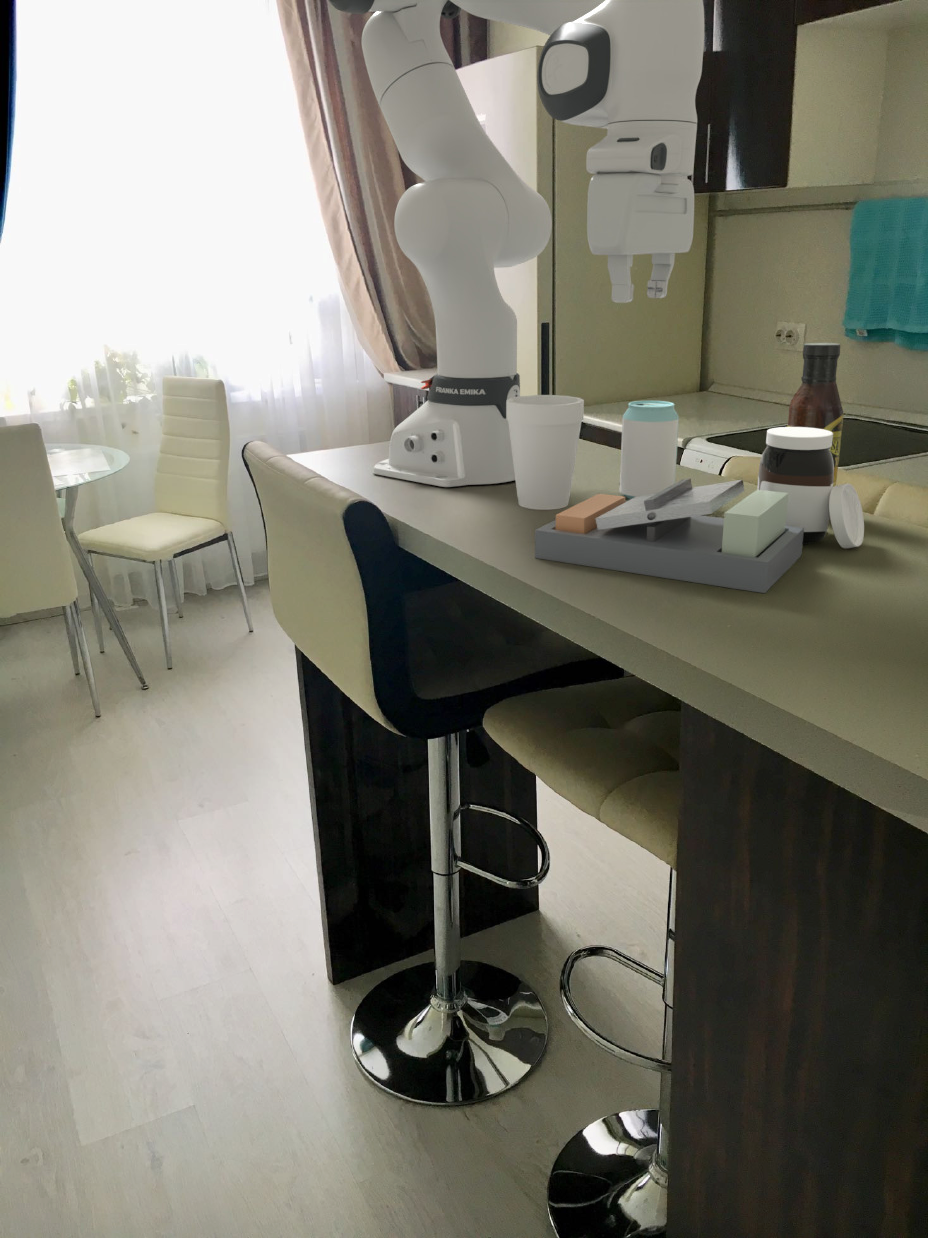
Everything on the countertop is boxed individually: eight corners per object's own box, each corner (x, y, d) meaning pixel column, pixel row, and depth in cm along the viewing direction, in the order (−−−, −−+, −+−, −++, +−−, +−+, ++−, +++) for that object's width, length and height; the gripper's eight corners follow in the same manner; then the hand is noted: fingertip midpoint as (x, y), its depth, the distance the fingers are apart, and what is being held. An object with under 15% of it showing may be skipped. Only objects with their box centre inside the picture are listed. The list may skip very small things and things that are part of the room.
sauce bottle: (836, 520, 119) (856, 346, 112) (781, 517, 120) (798, 345, 113) (828, 506, 125) (847, 341, 118) (776, 505, 126) (792, 340, 119)
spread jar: (749, 523, 118) (758, 423, 114) (850, 527, 116) (863, 425, 112) (759, 552, 107) (769, 442, 103) (871, 556, 105) (886, 444, 101)
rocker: (596, 530, 102) (592, 509, 102) (639, 506, 112) (635, 487, 111) (710, 514, 96) (706, 491, 95) (745, 490, 105) (741, 469, 104)
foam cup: (525, 515, 122) (526, 407, 118) (494, 499, 130) (494, 397, 126) (594, 507, 126) (597, 402, 121) (560, 492, 134) (562, 393, 129)
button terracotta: (555, 551, 106) (555, 514, 104) (597, 528, 115) (598, 493, 113) (582, 556, 104) (584, 518, 103) (623, 531, 113) (625, 496, 112)
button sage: (721, 553, 96) (724, 512, 95) (753, 527, 105) (756, 489, 104) (754, 557, 95) (758, 516, 94) (784, 531, 104) (788, 492, 102)
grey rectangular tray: (534, 557, 106) (535, 516, 104) (589, 527, 117) (591, 489, 115) (764, 593, 94) (769, 546, 92) (801, 555, 105) (805, 513, 104)
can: (616, 501, 129) (620, 406, 125) (621, 489, 135) (625, 398, 131) (672, 503, 127) (678, 407, 123) (675, 491, 134) (680, 399, 130)
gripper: (658, 162, 112) (649, 294, 117) (578, 150, 95) (571, 303, 100) (714, 161, 109) (701, 296, 114) (640, 149, 92) (630, 306, 97)
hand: (639, 299), depth 107 cm, fingers open, 8 cm apart
